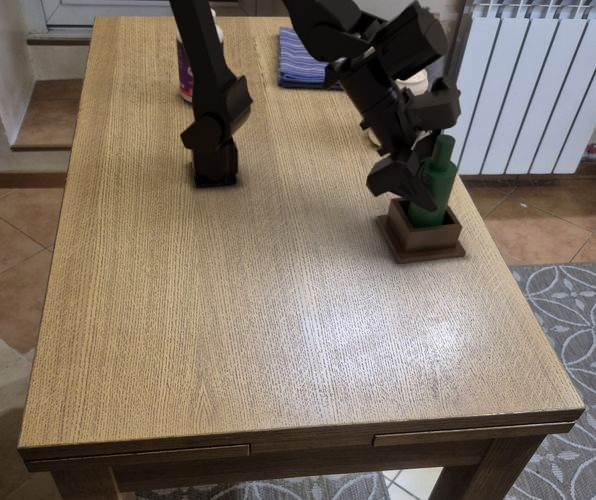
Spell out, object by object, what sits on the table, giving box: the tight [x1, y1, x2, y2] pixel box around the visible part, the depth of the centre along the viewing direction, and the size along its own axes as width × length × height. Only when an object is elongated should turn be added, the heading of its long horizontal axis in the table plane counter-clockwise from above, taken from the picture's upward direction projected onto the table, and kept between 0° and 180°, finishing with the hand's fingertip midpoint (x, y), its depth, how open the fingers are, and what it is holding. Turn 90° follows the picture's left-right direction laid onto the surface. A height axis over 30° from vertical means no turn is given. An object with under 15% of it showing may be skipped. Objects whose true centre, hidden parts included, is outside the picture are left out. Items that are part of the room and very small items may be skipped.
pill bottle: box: [175, 8, 225, 103], centre depth 107 cm, size 8×8×14 cm
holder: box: [375, 197, 467, 265], centre depth 88 cm, size 10×10×4 cm
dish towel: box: [277, 26, 345, 90], centre depth 123 cm, size 17×24×3 cm
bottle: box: [407, 133, 458, 229], centre depth 83 cm, size 5×5×15 cm
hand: (441, 196), depth 84 cm, fingers open, 7 cm apart
